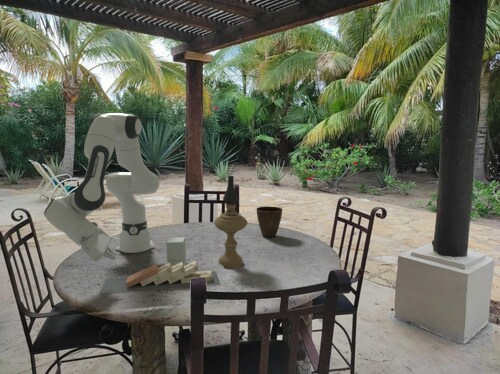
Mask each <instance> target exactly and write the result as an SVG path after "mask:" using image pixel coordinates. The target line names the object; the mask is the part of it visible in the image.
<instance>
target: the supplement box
mask: <svg viewBox="0 0 500 374" xmlns="http://www.w3.org/2000/svg"><path fill="white" fill-rule="evenodd" d="M165 245H166V264H167V263H170V264H171V266H174V265H176V264H179V263H181V262H183V264H184V266H185V265H187V256H186V255H187V251H186V237H169V238H168V240H167V241H166V243H165Z"/></svg>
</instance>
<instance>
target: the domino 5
mask: <svg viewBox="0 0 500 374" xmlns="http://www.w3.org/2000/svg"><path fill="white" fill-rule="evenodd" d="M211 272H212V271H211V270H202V271H199V270H198V271H196V272H194V273H192V274H190V275H188V276H186V277H184V278H182V279H181V283H190V281H191V279H192V278H200V277H204V278H206V282H207V281H212V273H211Z"/></svg>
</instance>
